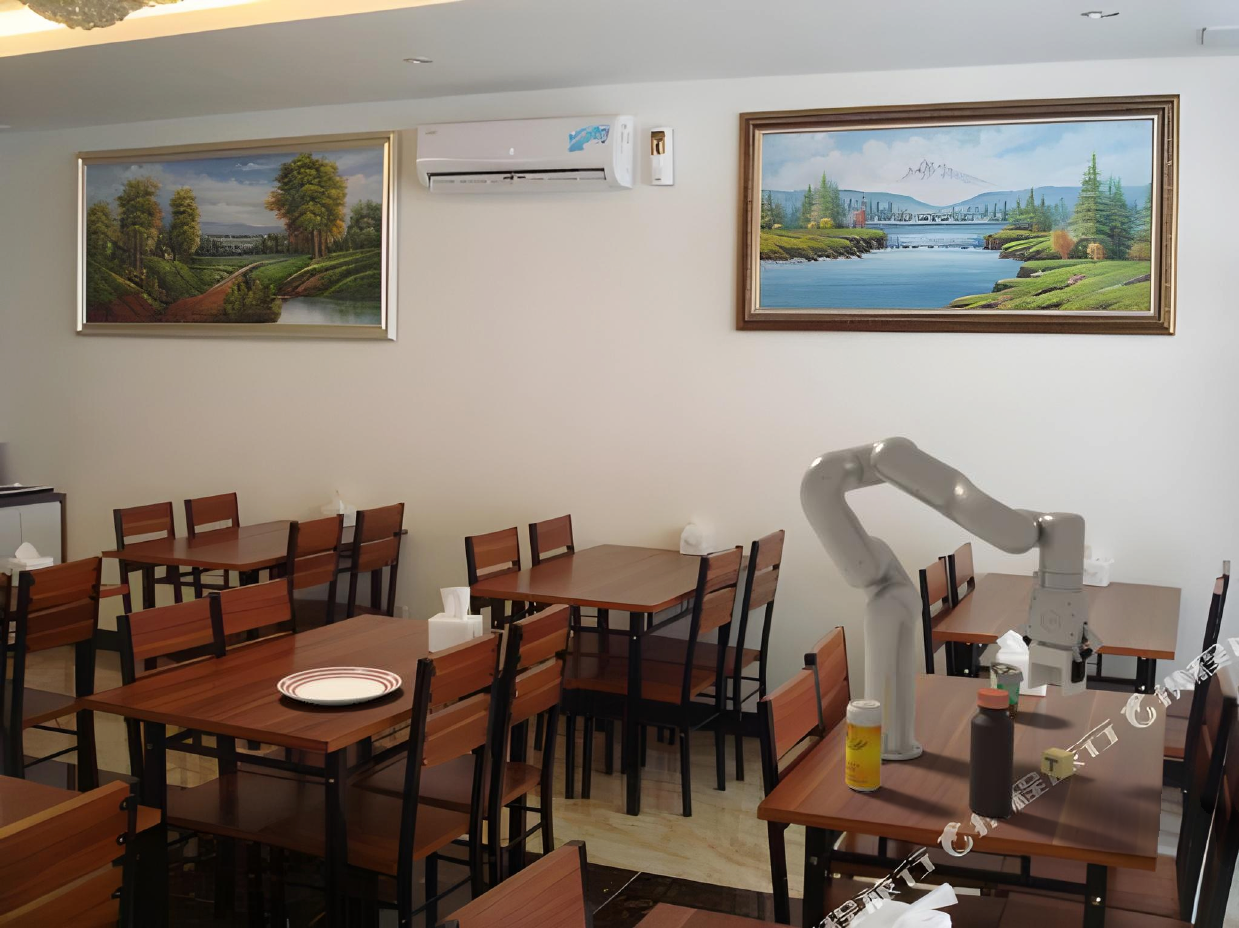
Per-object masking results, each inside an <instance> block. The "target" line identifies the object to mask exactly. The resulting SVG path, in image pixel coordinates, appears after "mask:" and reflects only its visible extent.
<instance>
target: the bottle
mask: <svg viewBox="0 0 1239 928" xmlns="http://www.w3.org/2000/svg"><path fill="white" fill-rule="evenodd" d="M1008 707H1009V693H1008V692H1007V691H1005V690H1001V689H995V688H990V687H984V688H979V689H978V690H977V708H978V709H979V711H978V712H977V713H976V714H975V715H974V716H973V717H971V720H970V744H969V745H970V746H969V747H970V750H969V780H968V781H969V783H968V784H969V787H968V791H969V792H968V807H970V808H969V810H970V809H971V810H972V811H971V810H970V811H971V812H973V811H975V812H977V813H979V814H982V815H985V816H984V817H986V816H988V818H995V817H996V818H997V819H998V818H1005V817H1008V816H1010V815H1012V811H1013V791H1014V790H1013V789H1014V788H1013V786H1014V785H1013V784H1014V781H1013V780H1014V755H1015V753H1014V751H1015V750H1014V749H1015V748H1014V747H1015V723H1014V721H1013V720H1012V718H1011V719H1010V718H1009V717H1008V715H1007V710H1008ZM979 814H978V815H979ZM982 815H981V816H982Z"/></svg>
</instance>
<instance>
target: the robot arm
mask: <svg viewBox="0 0 1239 928" xmlns="http://www.w3.org/2000/svg"><path fill="white" fill-rule="evenodd" d="M887 483H888V484H889V485H890V486H893V487H894V488H896V489H898V490H900V491H901V492H903V493H905V494H907V495H909V496H910V497H912V498H914V499H916V500H917V501H919V502H921V503H923V504H925V505H926V506H928V507H930V508H931V509H933V510H935V511H936V512H938V513H939V514H941V515H942V516H943V517H945V518H947V519H948V520H950V521H951V522H954V523H955V524H957V525H958V526H959V527H960V528H963V529H964V530H966V531H967V532H969V533H970V534H972V535H974V536H975V537H977V538H978V539H981V540H983V541H984V542H986V543H988V544H989V545H991V546H992V547H995V549H998V550H999V551H1002V552H1003V553H1007V554H1010V555H1022V554H1025V553H1028V552H1029V551H1031V549H1033V548H1034V549H1035V548H1037V549H1039V554H1038V555H1039V556H1038V558H1039V559H1038V570H1034V571H1033V572H1032V578H1034V579H1037V583H1038V584H1037V585H1033V588H1032V592H1031V596H1030V599H1029V606H1028V609H1027V610H1028V612H1027V618H1026V620H1025V621H1023V622H1022V623H1020V624H1019V625H1017V626H1016V630H1017V632H1018V634H1019V635H1020V637H1022V641H1023V642H1024V644H1025V645H1026V647H1027V650H1028V652H1029V645H1032V644H1039V643H1040V642H1044V643H1049V644H1054V645H1059V646H1065V647H1070V649H1071V651H1073V656H1074V658H1075V661H1072V675H1071V682H1072V683H1079V682H1082V681H1083V680H1084V677H1085V667H1086V660H1087V661H1088V660H1089V659H1090V657H1093V655H1095V653H1096V652H1097V651H1098V650H1099V649H1100V648H1101V647H1102V646H1103V645H1104V642H1103V640H1102V639H1101V638H1100V637H1099V636H1098V635H1097V634H1096V633H1095V632H1094V631H1093V629H1091V628H1090V626H1091V625H1090V609H1089V601H1088V595H1087V591H1086V590H1083V588H1084V565H1085V562H1084V561H1085V540H1086V521H1085V519H1084V517H1083V516H1082V515H1080V514H1077V513H1073V512H1060V511H1059V512H1057V511H1056V512H1042V511H1036V510H1031V509H1024V508H1014V509H1013V508H1011V507H1010V506H1007V504H1004V503H1002V502H1000V501H998V500H997V499H995V498H993V497H992V496H991V495H989V494H988V493H986V492H984V491H982V490H981V489H980V488H978V486H976V485H975V484H974V483H973V482H972V480H970V479H969V478H968V476H966V475H965V474H964V473H962V471H960V470H958V469H957V468H954V467H952V466H951V465H949V464H947V463H945V462H943V461H941V460H939V459H938V458H936V457H935V456H932V455H930V454H929V453H927V452H925V451H924V450H922V449H920V448H918V446H917V444H915V442H914V441H912V440H910V439H909V438H906V437H903V436H893V437H892V436H891V437H887V438H885V439H882V440H880V441H876V442H872V443H867V444H866V443H865V444H863V445H857V446H852V447H849V448H844V449H838V450H834V451H833V450H832V451H828V452H825V453H823V454H820V455H819V456H818V457H816V458H814V460H813V461H812V462H811V463H810V464H809V465H808V467H807V468H806V471H805V472H804V475H803V477H802V479H801V483H800V487H799V488H800V490H799V496H800V497H799V499H800V503H801V509H802V510H803V513H804V516H805V517H806V519H807V522H808V523H809V524H810V526H811V528H812V530H813V532H815V534H816V536H817V538H818V540H819V541H820V543H821V545H822V546H823V548H824V550H825V552H826V553H827V554H828V557H829V558H830V559H831V561H832V563H833V564H834V566H835V568H836V569H837V571H838V573H839V575H840V577H841V578H842V579H843V581H844V582H845V583H846V585H849V586H850V587H852V588H855V589H857V590H858V589H859V590H862V592H863V594H864V595H865V597H866V598H867V600H868V601H867V603H866V605H865V609H864V613H863V633H864V692H863V693H864V696H863V697H864V698H863V699H869V700H874V701H877V702H879V703H880V706H881V708H882V757H881V760H889V761H890V760H891V761H901V760H902V761H904V760H911V759H916V758H919V757H920V756H921V755H922V754H923V746H922V744H921V743H919V742H918V741H916V740H915V713H916V673H917V672H916V670H917V669H916V668H917V667H916V664H917V663H916V659H917V658H916V657H917V654H916V653H917V651H916V648H917V647H916V628H917V627H916V625H917V622H919V620H920V618H921V615H922V613H923V599H922V596H921V595H920V592H919V591H918V588H917V587H916V585H915V584H914V582H913V581H912V579H911V577H910V576H909V574H908V573H907V571H906V569H905V567H903V565H902V564H901V562H900V560H899V559H898V556H897V555H896V554H895V552H894V551H893V549H892V548H891V546H889V544H887V543H886V542H885V541H884V540H883V539H881V538H879V537H877V536H874V535H870V534H869V533H868V532H867V531H866V529H865V528H864V527H863V525H862V523H861V521H860V519H859V518H858V516H857V514H856V513H855V512H854V511H853V509H852V508H851V507H850V506H849V504H848V502H847V500H846V496H845V494H846V493H847V492H850V491H854V490H858V489H862V488H863V489H864V488H867V487H872V486H877V485H881V484H887ZM1088 643H1089V645H1088V646H1087V648H1085V647H1086V646H1085V645H1086V644H1088Z"/></svg>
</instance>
